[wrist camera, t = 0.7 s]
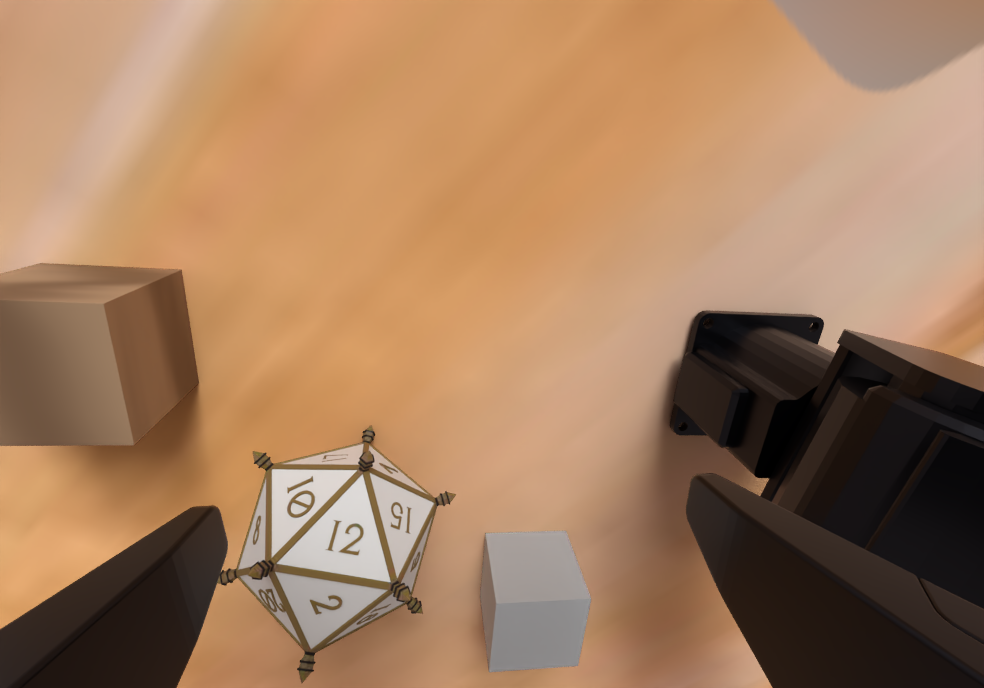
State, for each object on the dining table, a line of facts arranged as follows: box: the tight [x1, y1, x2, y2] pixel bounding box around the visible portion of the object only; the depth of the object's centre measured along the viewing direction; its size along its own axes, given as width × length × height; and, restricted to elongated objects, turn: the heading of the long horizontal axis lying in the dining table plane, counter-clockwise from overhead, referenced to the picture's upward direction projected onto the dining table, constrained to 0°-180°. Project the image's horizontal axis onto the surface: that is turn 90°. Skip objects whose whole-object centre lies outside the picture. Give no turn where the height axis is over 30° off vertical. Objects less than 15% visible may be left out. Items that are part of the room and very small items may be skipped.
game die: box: [217, 426, 456, 683], centre depth 20 cm, size 9×8×10 cm
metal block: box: [0, 263, 199, 446], centre depth 17 cm, size 5×5×5 cm
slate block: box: [480, 531, 591, 672], centre depth 25 cm, size 4×4×4 cm
